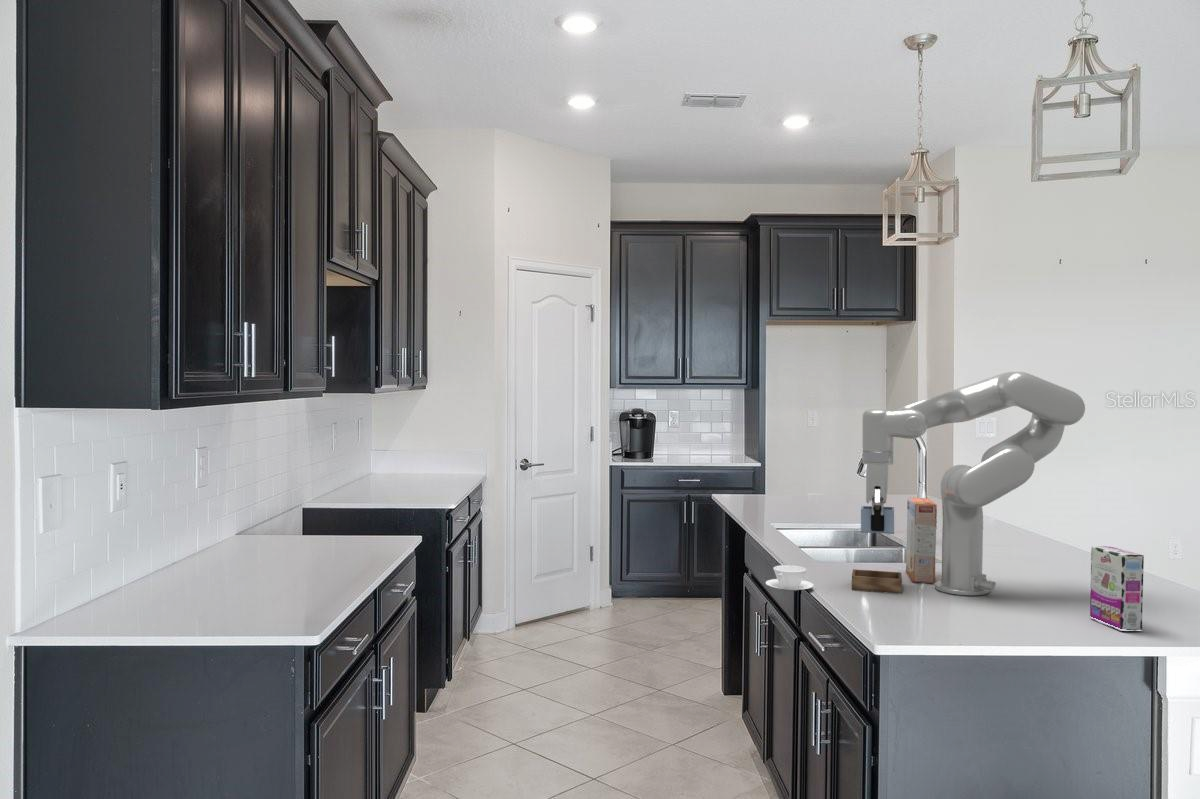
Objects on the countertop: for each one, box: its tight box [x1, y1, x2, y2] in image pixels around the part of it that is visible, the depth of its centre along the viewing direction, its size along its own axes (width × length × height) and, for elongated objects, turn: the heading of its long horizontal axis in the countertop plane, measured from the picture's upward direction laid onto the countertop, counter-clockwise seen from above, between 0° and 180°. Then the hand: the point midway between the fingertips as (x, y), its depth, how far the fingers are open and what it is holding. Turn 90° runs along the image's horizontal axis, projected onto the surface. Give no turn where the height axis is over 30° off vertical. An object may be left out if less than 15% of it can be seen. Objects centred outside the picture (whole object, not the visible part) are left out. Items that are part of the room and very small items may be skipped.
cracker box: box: [905, 497, 938, 584], centre depth 243 cm, size 14×6×21 cm, turn 168°
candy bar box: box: [1089, 545, 1145, 631], centre depth 196 cm, size 11×5×16 cm, turn 5°
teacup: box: [765, 564, 815, 592], centre depth 229 cm, size 12×12×5 cm
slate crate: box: [860, 505, 895, 535], centre depth 230 cm, size 8×6×6 cm
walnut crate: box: [851, 568, 903, 594], centre depth 230 cm, size 12×9×4 cm
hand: (877, 528), depth 230 cm, fingers closed on slate crate, 5 cm apart
